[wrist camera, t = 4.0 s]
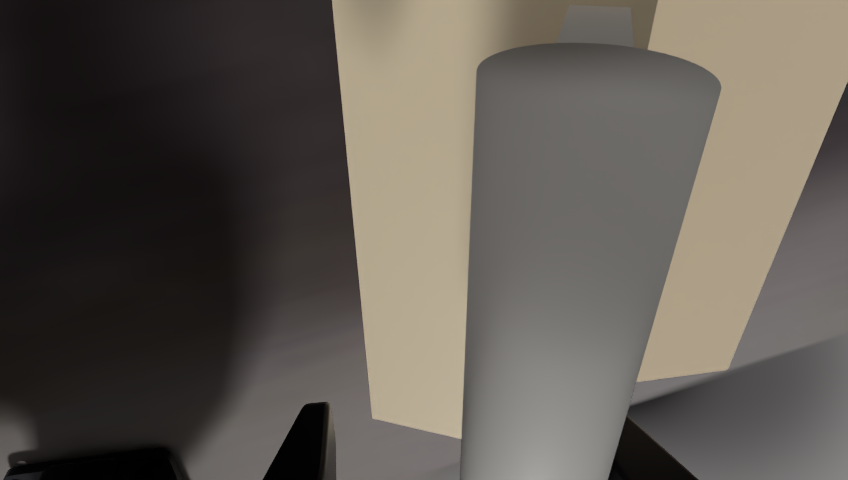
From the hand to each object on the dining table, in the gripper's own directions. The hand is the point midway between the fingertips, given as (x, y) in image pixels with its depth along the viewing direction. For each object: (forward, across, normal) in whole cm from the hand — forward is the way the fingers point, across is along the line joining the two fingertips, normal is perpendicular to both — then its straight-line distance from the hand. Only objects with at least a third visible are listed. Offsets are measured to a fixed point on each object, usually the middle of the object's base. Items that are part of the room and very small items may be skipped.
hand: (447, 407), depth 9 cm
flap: (+5, -1, 0) cm, 5 cm away
